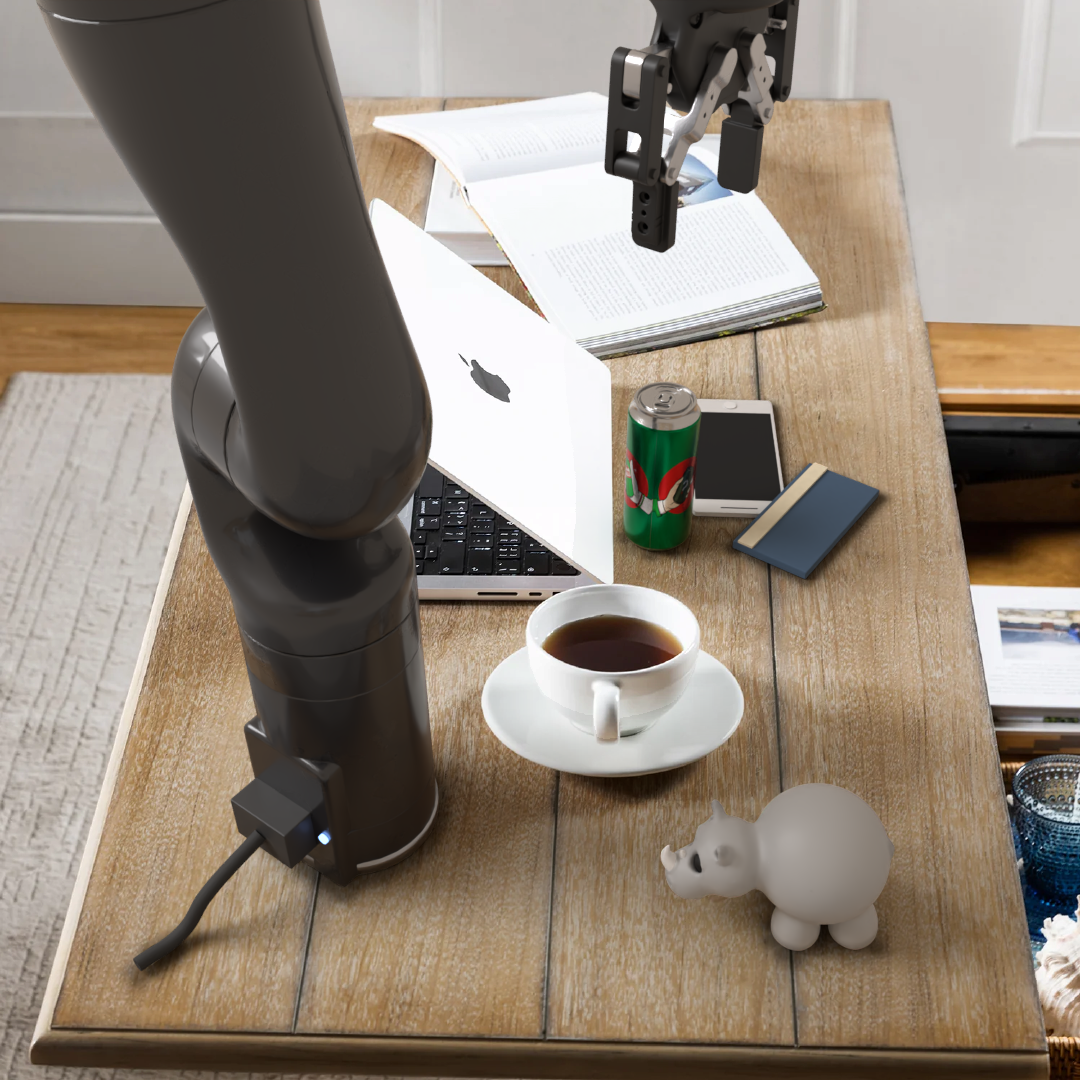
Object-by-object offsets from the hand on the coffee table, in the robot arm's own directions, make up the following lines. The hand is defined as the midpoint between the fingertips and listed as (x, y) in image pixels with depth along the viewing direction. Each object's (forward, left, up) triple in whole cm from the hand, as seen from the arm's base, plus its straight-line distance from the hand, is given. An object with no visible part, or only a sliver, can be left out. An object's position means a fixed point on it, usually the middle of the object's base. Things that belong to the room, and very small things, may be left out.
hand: (696, 216), depth 68 cm
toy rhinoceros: (-16, -17, -30) cm, 38 cm away
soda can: (+8, +6, -30) cm, 32 cm away
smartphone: (+20, +6, -31) cm, 37 cm away
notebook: (+16, -3, -30) cm, 34 cm away
